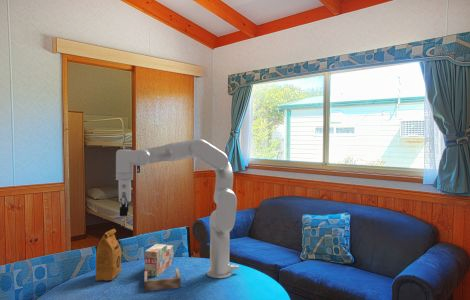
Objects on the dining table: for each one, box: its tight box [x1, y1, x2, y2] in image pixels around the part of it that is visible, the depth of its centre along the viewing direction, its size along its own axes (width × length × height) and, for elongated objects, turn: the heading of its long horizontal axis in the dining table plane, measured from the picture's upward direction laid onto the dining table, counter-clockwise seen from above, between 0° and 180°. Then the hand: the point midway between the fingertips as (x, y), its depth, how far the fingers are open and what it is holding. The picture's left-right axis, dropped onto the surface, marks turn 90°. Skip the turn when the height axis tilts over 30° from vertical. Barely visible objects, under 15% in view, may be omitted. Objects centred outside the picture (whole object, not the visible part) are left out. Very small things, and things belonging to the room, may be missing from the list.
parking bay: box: [143, 268, 182, 292], centre depth 152 cm, size 15×13×4 cm
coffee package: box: [95, 228, 122, 282], centre depth 159 cm, size 10×12×22 cm
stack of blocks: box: [144, 243, 175, 278], centre depth 171 cm, size 21×6×12 cm, turn 168°
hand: (124, 213), depth 153 cm, fingers open, 9 cm apart
